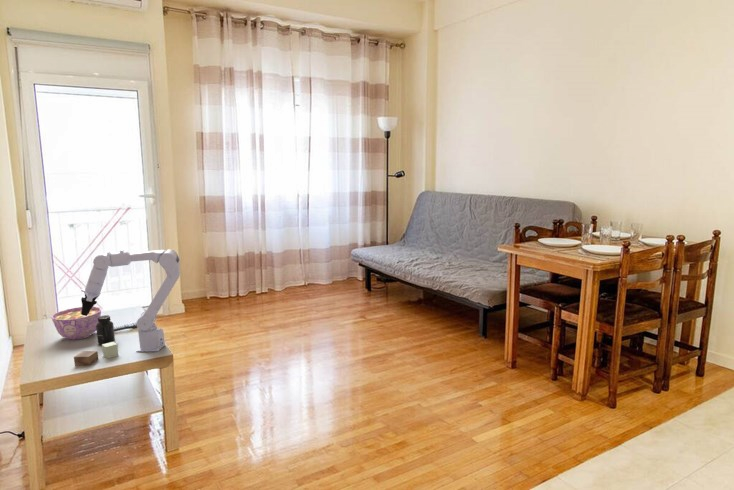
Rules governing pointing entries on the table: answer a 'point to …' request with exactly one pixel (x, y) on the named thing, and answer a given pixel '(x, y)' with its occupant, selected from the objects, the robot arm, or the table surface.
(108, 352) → the sage block
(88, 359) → the walnut block
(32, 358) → the table surface
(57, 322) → the bowl of food
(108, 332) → the supplement bottle
